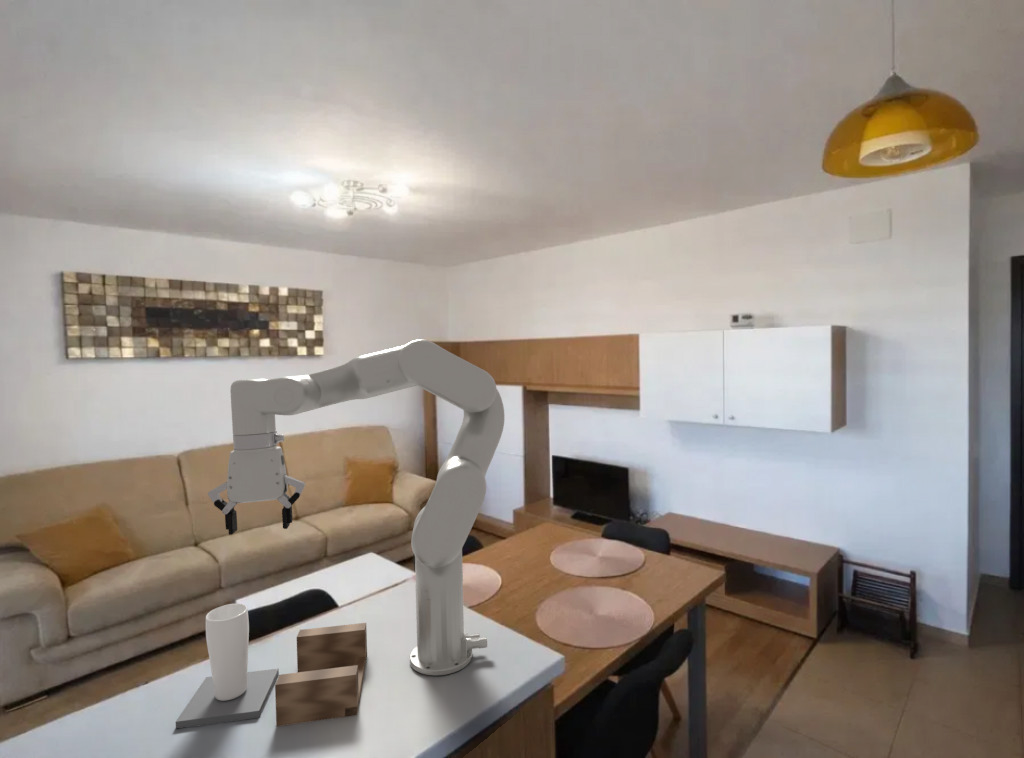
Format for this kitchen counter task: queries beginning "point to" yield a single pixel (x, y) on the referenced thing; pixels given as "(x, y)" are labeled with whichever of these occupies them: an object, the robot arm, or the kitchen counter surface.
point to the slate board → (243, 707)
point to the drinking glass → (228, 649)
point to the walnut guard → (323, 675)
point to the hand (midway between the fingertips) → (260, 529)
